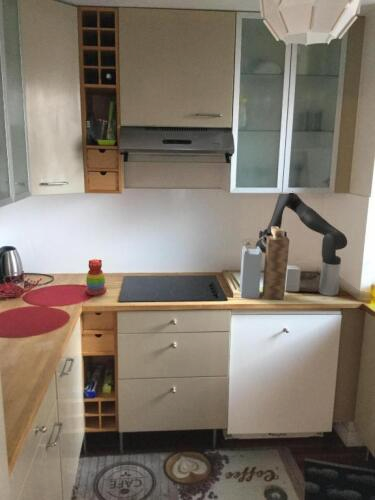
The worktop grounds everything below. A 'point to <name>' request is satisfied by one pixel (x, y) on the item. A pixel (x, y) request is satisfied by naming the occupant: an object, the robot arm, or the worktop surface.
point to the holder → (250, 272)
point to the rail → (277, 233)
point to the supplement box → (292, 278)
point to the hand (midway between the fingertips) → (274, 230)
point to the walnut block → (275, 268)
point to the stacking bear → (95, 278)
